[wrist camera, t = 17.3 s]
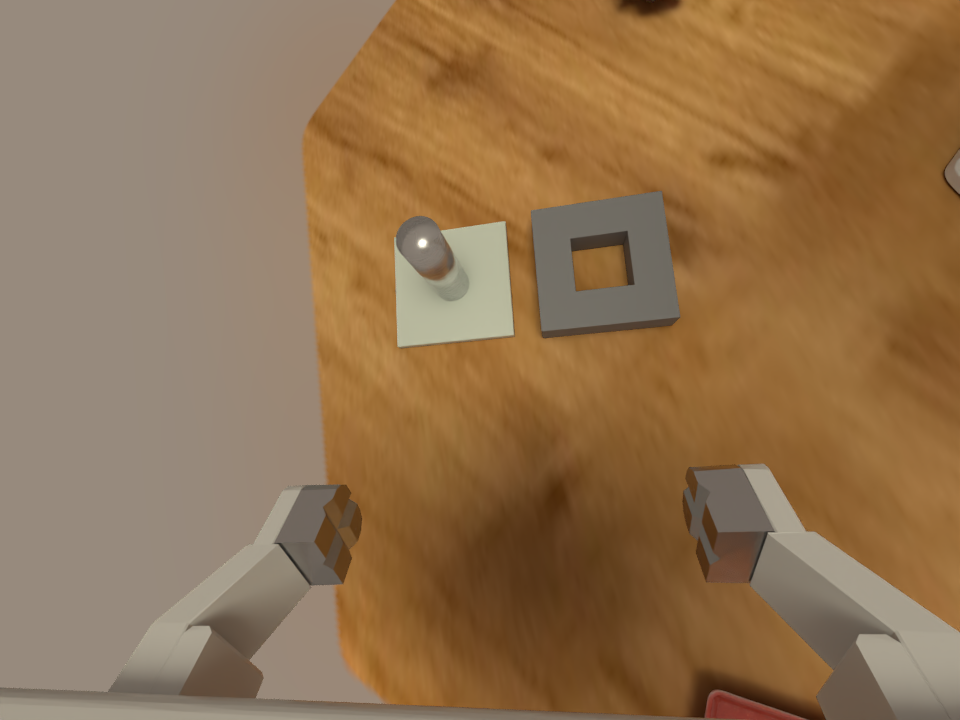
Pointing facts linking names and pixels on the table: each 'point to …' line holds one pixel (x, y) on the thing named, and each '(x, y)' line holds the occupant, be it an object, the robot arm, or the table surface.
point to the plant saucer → (742, 708)
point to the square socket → (595, 227)
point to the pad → (471, 315)
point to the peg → (432, 257)
